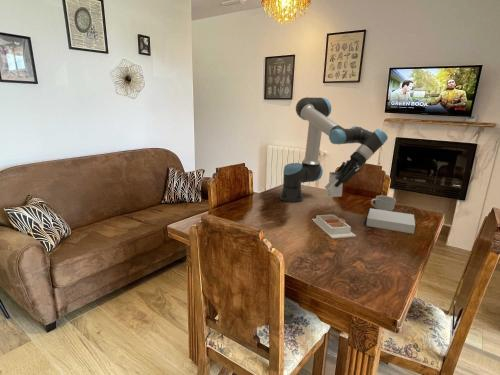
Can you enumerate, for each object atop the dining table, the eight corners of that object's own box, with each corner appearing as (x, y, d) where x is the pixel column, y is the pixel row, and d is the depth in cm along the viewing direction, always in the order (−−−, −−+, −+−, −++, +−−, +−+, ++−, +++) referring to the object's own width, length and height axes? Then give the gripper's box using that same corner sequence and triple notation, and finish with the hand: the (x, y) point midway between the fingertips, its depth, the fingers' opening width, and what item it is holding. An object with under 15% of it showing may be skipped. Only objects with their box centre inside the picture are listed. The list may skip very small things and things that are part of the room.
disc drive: (367, 215, 167) (368, 207, 166) (412, 222, 158) (413, 213, 156) (364, 226, 152) (365, 217, 151) (413, 234, 142) (415, 225, 141)
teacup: (390, 208, 179) (391, 195, 177) (397, 214, 168) (398, 201, 166) (366, 207, 180) (368, 194, 178) (371, 213, 170) (373, 200, 168)
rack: (332, 238, 136) (333, 230, 135) (311, 219, 159) (312, 212, 158) (355, 236, 139) (356, 228, 138) (332, 218, 161) (332, 211, 160)
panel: (330, 197, 147) (332, 173, 144) (327, 195, 150) (329, 172, 147) (341, 196, 148) (343, 173, 145) (338, 194, 151) (340, 171, 148)
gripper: (375, 163, 140) (340, 199, 141) (356, 158, 155) (325, 190, 156) (366, 153, 138) (331, 189, 138) (348, 148, 153) (316, 181, 154)
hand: (328, 189), depth 147 cm, fingers closed on panel, 3 cm apart
